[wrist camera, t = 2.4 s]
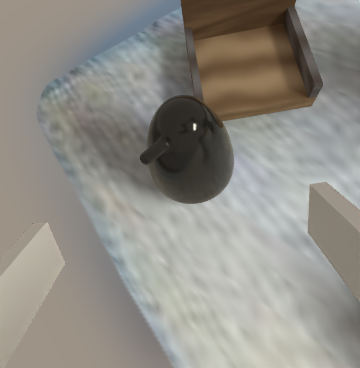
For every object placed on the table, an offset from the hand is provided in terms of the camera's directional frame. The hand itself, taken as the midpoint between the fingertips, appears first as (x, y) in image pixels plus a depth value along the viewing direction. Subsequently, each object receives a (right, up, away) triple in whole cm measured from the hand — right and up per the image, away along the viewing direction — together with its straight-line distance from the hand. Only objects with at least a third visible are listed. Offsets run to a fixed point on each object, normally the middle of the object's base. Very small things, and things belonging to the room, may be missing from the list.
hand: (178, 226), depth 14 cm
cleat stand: (+10, +18, +27) cm, 35 cm away
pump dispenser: (+2, +3, +23) cm, 24 cm away
